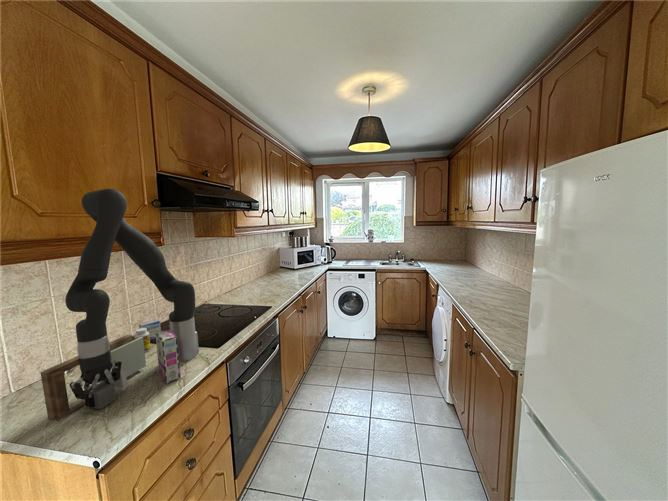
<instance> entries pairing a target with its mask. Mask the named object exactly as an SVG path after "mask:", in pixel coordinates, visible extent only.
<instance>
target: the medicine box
mask: <svg viewBox="0 0 668 501" xmlns="http://www.w3.org/2000/svg"><path fill="white" fill-rule="evenodd" d="M138 327H139V328H138V329H140V328H146V329H147V332H149V337H150V342H151V341H153V340H156V332H159V331H162V329H161V321H160V320H159V319H157V318H156V319H153V320H149V321H146V322H142V323H139V324H138Z"/></svg>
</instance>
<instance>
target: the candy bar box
mask: <svg viewBox="0 0 668 501" xmlns="http://www.w3.org/2000/svg"><path fill="white" fill-rule="evenodd" d="M155 341H156V344H155V345H156V353H157V366H158V373H159V374H160V376H161V377H162V379H163V381H164V382H165V384H170V383H172V382H175V381H177V380H179V379H181V374H180V372H181V371H180V362H179V358H178V346H177V337H176V336H175V335H174V334H173V333H172V332H171V331H170V328H168V329H163V330H161V331H159V332H156V339H155Z"/></svg>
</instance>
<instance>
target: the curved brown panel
mask: <svg viewBox="0 0 668 501" xmlns="http://www.w3.org/2000/svg"><path fill="white" fill-rule="evenodd" d="M133 340H134V337H133V335H132V334H126V335H123V336H121V337H118V338H117V339H114V340H112V341H109V344H110V351H112V350H114V349H116V348H118V347H120V346H123V345H125V344H127V343H129V342H131V341H133ZM78 366H80V365H79V358H78V355H77V356H74V357H72V358H70V359H67V360H66V361H63V362H61V363H59V364H56V365H54V366H52V367H49V368H47V369H44V370H42V371H40V378H41V384H42V389H43V397H44V402H45V403H44V404H45V409H46V413H47V419H49V420H51V421H52V420H53V421H57V422H60V421H61V419H62V420H63V419H65V418H66V417H68V416H70V415H71V414H74V413H75V412H77V411H78V410H80V409H81V407H82V408H83V407H86V405H85V399H84V400H82V401H81V402H79V403H77V404H76V405H74V406H73V407H70V403H69V397H68V391H67V384H66V378H65V372H67V371H69V370H72V369H74V368H76V367H78ZM140 373H141V370H138V371H137V372H135V373H133V374H132V375H130V376H128V377H126V378H127V381H129V380H130V379H131V378H134V377H136V376H137V375H139V374H140Z"/></svg>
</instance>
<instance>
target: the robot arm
mask: <svg viewBox="0 0 668 501" xmlns="http://www.w3.org/2000/svg"><path fill="white" fill-rule="evenodd" d="M81 207H82V208H83V210H84V212H85V213H86V214H87V215H88V216H89V218H91V219H92V220H93V221H95V223H96V224H95V227H94V229H93V231H92V234H91V235H90V236H89V239H88V241H87V243H86V244H85V246H84V247H83V250H82V253H81V256H80V260H79V264H78V271H77V275H76V276H75V278H74V279H73V282H72V283H71V285H70V287H69V288H68V291H67V292H66V294H65V306H66V307H67V309H68V310H69V311H70V312H74V313H85V315H86V316H85V319H82V320H80V321H78V322H77V323H76V326H75V334H76V340H77V346H76V347H77V356H78V358H79V365H78V366H79V370H80V372H81V374H80V377H79V378H78V379H77V380H76V381H72V382H70V383H69V388H70V390H71V391H72V392H73V395H74V397H75V399H77V400H79V399H80V400H82V401H84V400H85V407H86V408H88V409H94V408H93V407H95V402H94V396H93V393H94V389H96V386H97V384H99V383H100V381H104V382H105V383H108V384H113V385H114V383H115V381H116V380H119V379H120V373H121V364H122V362H120V361H114V362H113V363H111V352H110V344H109V342H110V340H109V337H108V330H107V318H108V315H109V310H110V303H111V302H110V301H111V300H110V296H109V294H108V293H107V292H106V290H103V289H99V288H98V289H97V288H95V286H96V285H97V283H99V282H103V281H105V280H106V279H107V277H108V274H109V267H110V263H111V262H110V260H111V258H112V257H111V256H112V253H113V252H112V251H113V247H114V244H115V242H116V243H117V244H118V245H119V246H120V248H121V249H122V250H123V251H124V252H125V253H126V256H128V257H129V258H130V260H131V261H132V262H133V263H134V264H135V265H136V266H137V267H138V268H139V269H140V270H141V271H142V273H143V274H145V275H146V277H148V279H149V280H151V282H152V283H153V285H154V286H155V287H156V289H157V290H158V292H159V293H160V295H161V296H162V297H163V299H165V300H166V301H167V302H169V303H173V311H171V312H169V314H168V323H169V330H170V331H171V332H172V333H173V334H174V335H175V336H176V337H177V346H178V358H179V363H182V362H187V361H191V360H192V359H194V358H195V357H196V356H198V354H199V352H200V350H199V338H198V336H199V335H198V332H197V331H196V325H195V324H196V322H195V312H196V292H195V288H194V286H193V284H192V283H191V282H188V281H181V280H178V279H177V278H176V277H174V275H173V274H172V273H171V272H170V270H169V269H168V268H167V265H166V259H165V256H164V254H163V253H162V251H161V250H160V248H159V247H158V246H157V244H156V243H155V241H153V240H152V239H151V238H150V237H149V236H147V235H146V234H144V233H143V232H141V231H140V230H138V229H136V228H135V227H134V226H132V225H131V224H130V223H128V222H127V221H126V220H125V218H124V217H125V214H126V212H127V207H128V201H127V198H126V197H125V195H124V194H123V193H122V192H121V191H119V190H117V189H114V188H103V189H102V188H101V189H99V190H98V189H97V190H95V191H94V190H93V191H89V192H86V193H85V194H83V196H82V197H81ZM111 368H112V372H111V374H110V373H109V372H110V370H111ZM83 382H84V384H83Z"/></svg>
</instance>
